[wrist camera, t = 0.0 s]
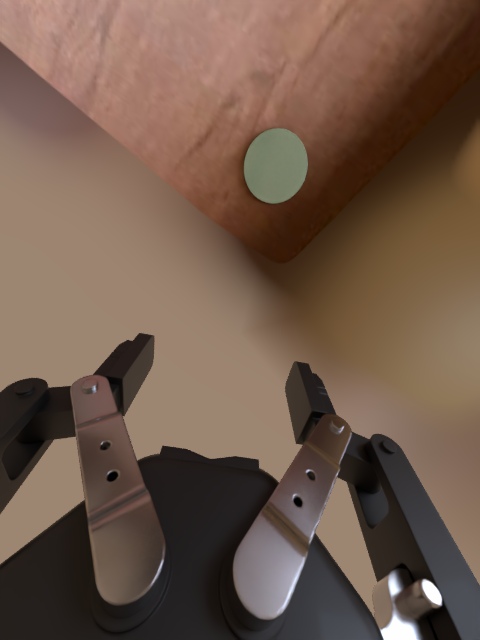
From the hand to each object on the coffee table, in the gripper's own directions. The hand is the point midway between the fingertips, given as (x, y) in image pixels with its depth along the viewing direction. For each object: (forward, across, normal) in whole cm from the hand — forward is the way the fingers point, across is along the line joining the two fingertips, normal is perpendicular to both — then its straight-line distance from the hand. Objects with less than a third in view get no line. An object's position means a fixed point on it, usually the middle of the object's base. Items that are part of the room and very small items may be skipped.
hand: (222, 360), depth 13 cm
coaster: (+29, -3, -13) cm, 32 cm away
